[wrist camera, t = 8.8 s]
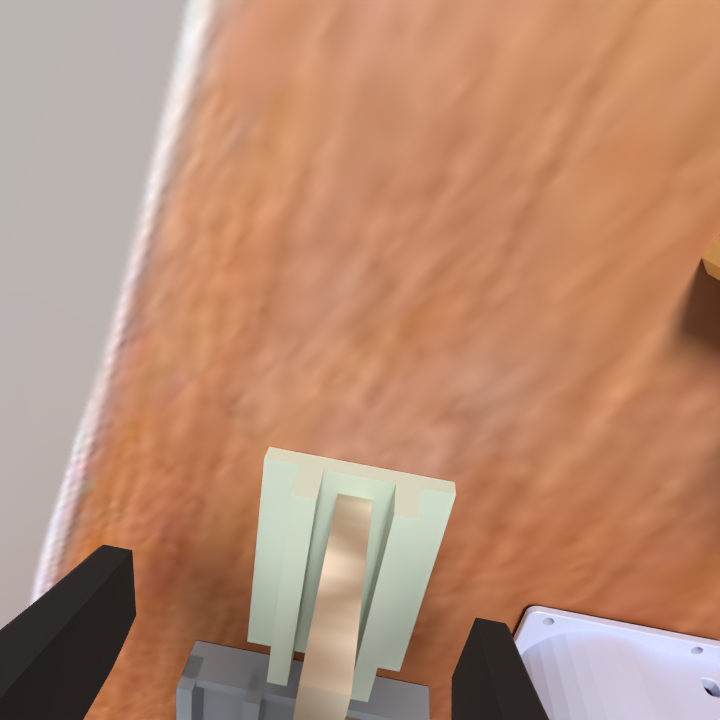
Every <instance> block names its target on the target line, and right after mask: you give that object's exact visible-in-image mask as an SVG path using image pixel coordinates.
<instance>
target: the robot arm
mask: <svg viewBox="0 0 720 720" xmlns="http://www.w3.org/2000/svg"><path fill="white" fill-rule="evenodd" d="M135 617H136V606H135V589H134V572H133V556H132V550H128V549H123V548H118V547H113V546H108V545H102V546H101V547H99V548H98V549H96V550H95V551H94V552H93V553H92V554H91V555H90V556H88V557H87V558H86V559H85V560H84V561H83V562H81V563H80V564H79V565H78V566H77V567H76V568H75V569H73V570H72V571H71V572H70V573H69V574H68V575H66V576H65V577H64V578H63V579H62V580H61V581H59V582H58V583H57V584H56V585H55V586H53V587H52V588H51V589H50V590H49V591H48V592H46V593H45V594H44V595H43V596H42V597H40V598H39V599H38V600H37V601H36V602H34V603H33V604H32V605H31V606H29V607H28V608H27V609H26V610H24V611H23V612H22V613H21V614H20V615H18V616H17V617H16V618H15V619H14V620H12V621H11V622H10V623H9V624H7V625H6V626H5V627H3V628H2V629H1V630H0V720H83V719H84V717H85V715H86V714H87V712H88V710H89V708H90V707H91V705H92V703H93V701H94V700H95V698H96V696H97V694H98V693H99V691H100V689H101V687H102V686H103V684H104V682H105V680H106V679H107V677H108V675H109V673H110V671H111V670H112V668H113V666H114V664H115V661H116V659H117V657H118V655H119V653H120V651H121V648H122V646H123V644H124V642H125V639H126V637H127V635H128V633H129V630H130V628H131V626H132V623H133V621H134V619H135ZM452 720H720V641H716V640H711V639H706V638H701V637H696V636H691V635H686V634H680V633H675V632H670V631H665V630H660V629H655V628H650V627H645V626H639V625H634V624H629V623H624V622H619V621H614V620H609V619H604V618H598V617H593V616H588V615H583V614H578V613H573V612H568V611H563V610H558V609H552V608H547V607H542V606H531V607H530V608H528V609H527V610H526V612H525V614H524V616H523V618H522V620H521V622H520V625H519V627H518V629H517V631H516V633H515V635H514V638H513V637H512V634H511V632H510V630H509V628H508V626H507V625H506V624H505V623H501V622H496V621H491V620H485V619H480V618H476V619H475V621H474V624H473V626H472V629H471V631H470V634H469V636H468V639H467V641H466V644H465V646H464V649H463V651H462V654H461V656H460V659H459V661H458V664H457V666H456V669H455V671H454V674H453V676H452Z"/></svg>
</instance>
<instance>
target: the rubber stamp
mask: <svg viewBox="0 0 720 720" xmlns="http://www.w3.org/2000/svg"><path fill="white" fill-rule="evenodd" d="M702 260H703V263H704V266H705V269H706V272H707V274H709V275H711V276H712V277H714V278H716V279H718V280H719V281H720V235H719V236H718V238H717V239H716V240H715V241H714V243H713V244H712V245H711V246H710V248H709V249H708V250H707V252H706V253H705V254H704V255H703V257H702Z"/></svg>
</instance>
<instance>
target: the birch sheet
mask: <svg viewBox="0 0 720 720" xmlns="http://www.w3.org/2000/svg"><path fill="white" fill-rule="evenodd" d="M372 503H373V500H370V499H365V498H360V497H355V496H350V495H345V494H339V493H338V494H337V499H336V504H335V509H334V514H333V519H332V524H331V529H330V534H329V539H328V544H327V549H326V553H325V558H324V563H323V568H322V573H321V578H320V583H319V588H318V593H317V598H316V603H315V608H314V613H313V618H312V623H311V628H310V632H309V637H308V642H307V647H306V652H305V657H304V662H303V667H302V672H301V677H300V682H299V687H298V693H297V698H296V704H295V710H294V715H293V720H345V717H346V714H347V710H348V706H349V702H350V698H351V693H352V684H353V675H354V666H355V657H356V648H357V639H358V630H359V621H360V612H361V602H362V593H363V584H364V575H365V566H366V557H367V548H368V539H369V530H370V521H371V512H372Z"/></svg>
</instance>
